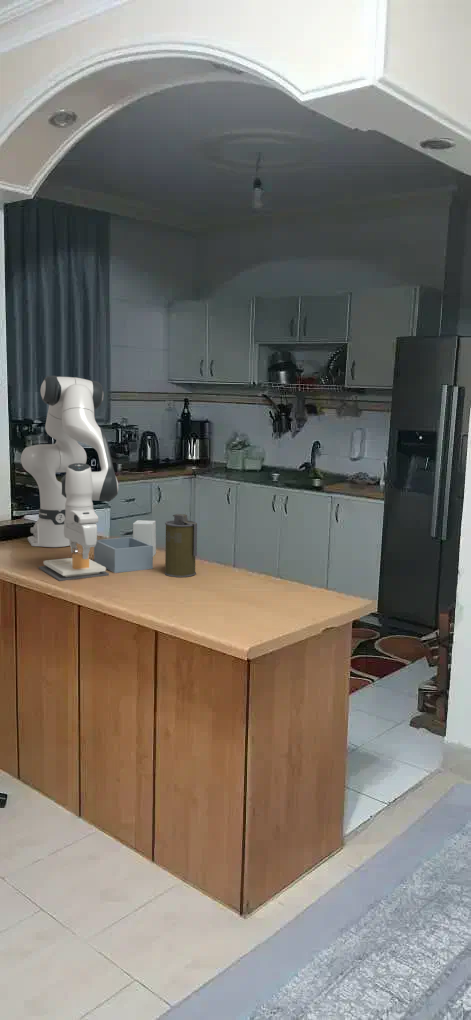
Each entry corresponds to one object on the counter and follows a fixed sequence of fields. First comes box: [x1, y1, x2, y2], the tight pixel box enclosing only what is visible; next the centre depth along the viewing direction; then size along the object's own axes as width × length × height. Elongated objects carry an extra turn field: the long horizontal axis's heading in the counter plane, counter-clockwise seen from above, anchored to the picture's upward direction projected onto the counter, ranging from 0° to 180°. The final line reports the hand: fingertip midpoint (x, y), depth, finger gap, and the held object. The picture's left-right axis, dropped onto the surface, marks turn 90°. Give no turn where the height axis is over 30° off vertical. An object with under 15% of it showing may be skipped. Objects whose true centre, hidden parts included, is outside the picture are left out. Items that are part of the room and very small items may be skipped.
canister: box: [164, 513, 198, 578], centre depth 263 cm, size 11×10×20 cm
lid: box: [43, 552, 107, 577], centre depth 262 cm, size 19×15×7 cm
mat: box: [38, 565, 110, 582], centre depth 264 cm, size 20×17×1 cm
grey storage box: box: [93, 536, 154, 574], centre depth 274 cm, size 18×14×8 cm
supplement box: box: [132, 519, 157, 557], centre depth 291 cm, size 7×7×13 cm
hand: (79, 556), depth 258 cm, fingers open, 8 cm apart
